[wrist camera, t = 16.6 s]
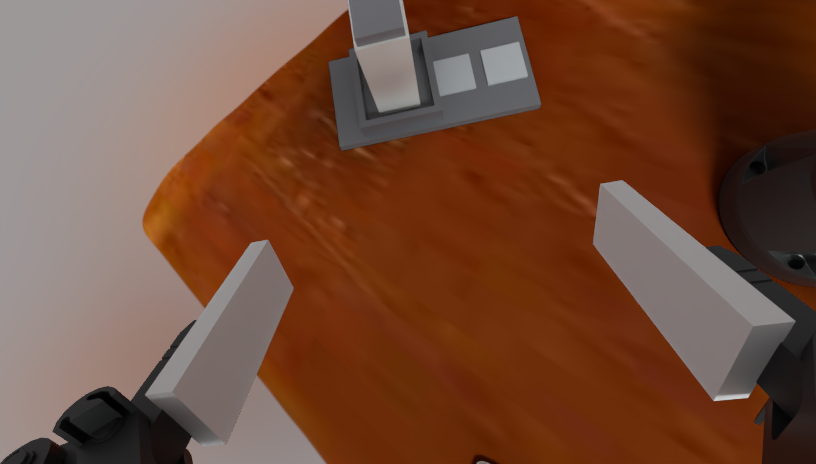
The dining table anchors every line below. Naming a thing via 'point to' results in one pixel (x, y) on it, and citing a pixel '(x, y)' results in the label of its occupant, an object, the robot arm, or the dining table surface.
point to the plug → (385, 53)
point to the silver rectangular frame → (482, 462)
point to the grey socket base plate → (441, 85)
